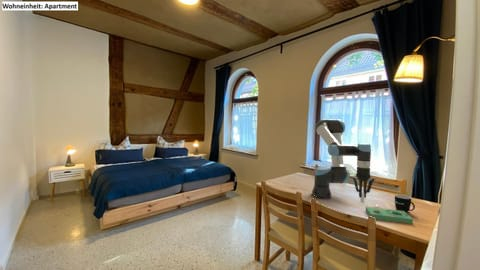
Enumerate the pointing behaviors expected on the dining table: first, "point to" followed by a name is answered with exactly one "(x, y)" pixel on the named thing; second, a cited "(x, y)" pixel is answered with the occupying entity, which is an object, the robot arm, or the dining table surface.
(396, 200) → the mug
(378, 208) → the ball
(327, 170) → the robot arm
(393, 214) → the green
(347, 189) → the dining table surface
